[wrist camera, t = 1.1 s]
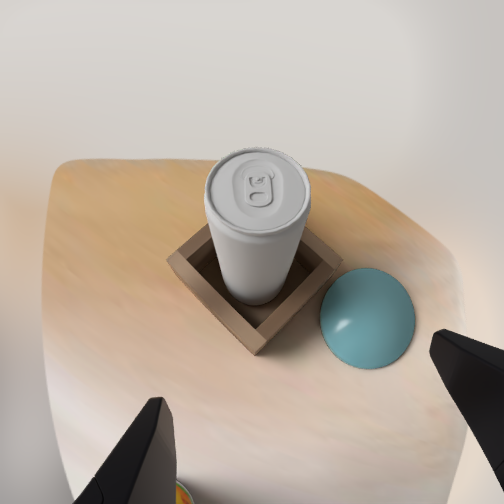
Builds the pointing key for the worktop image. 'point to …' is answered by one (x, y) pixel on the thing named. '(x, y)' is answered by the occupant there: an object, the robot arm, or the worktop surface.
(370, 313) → the teal disc
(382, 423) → the worktop surface
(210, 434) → the worktop surface
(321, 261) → the square wooden frame
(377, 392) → the worktop surface
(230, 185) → the beverage can
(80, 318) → the worktop surface
